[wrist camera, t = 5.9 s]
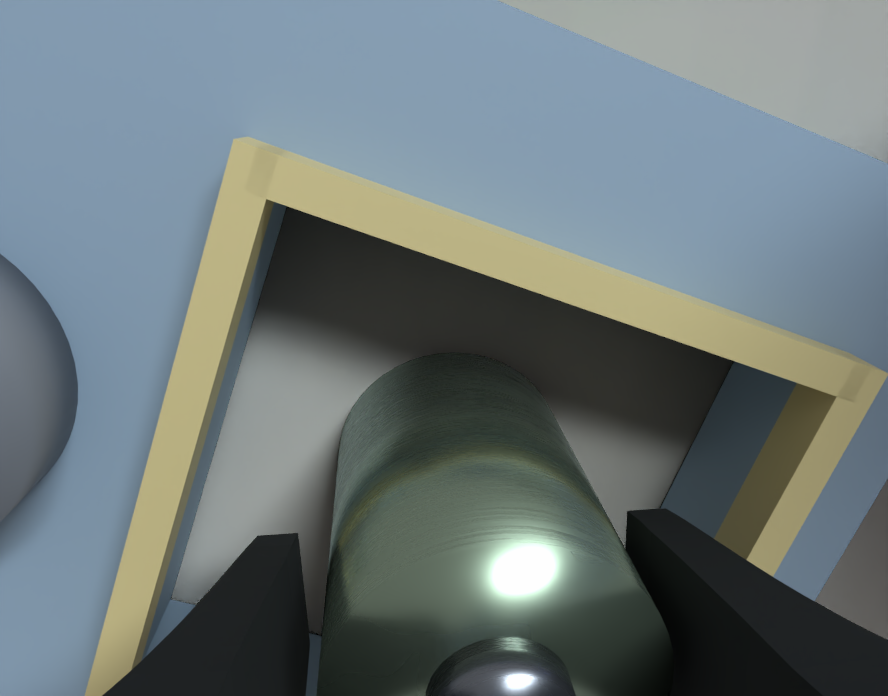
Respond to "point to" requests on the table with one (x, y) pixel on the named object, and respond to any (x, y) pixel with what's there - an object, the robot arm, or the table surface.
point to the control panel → (406, 224)
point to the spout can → (477, 550)
